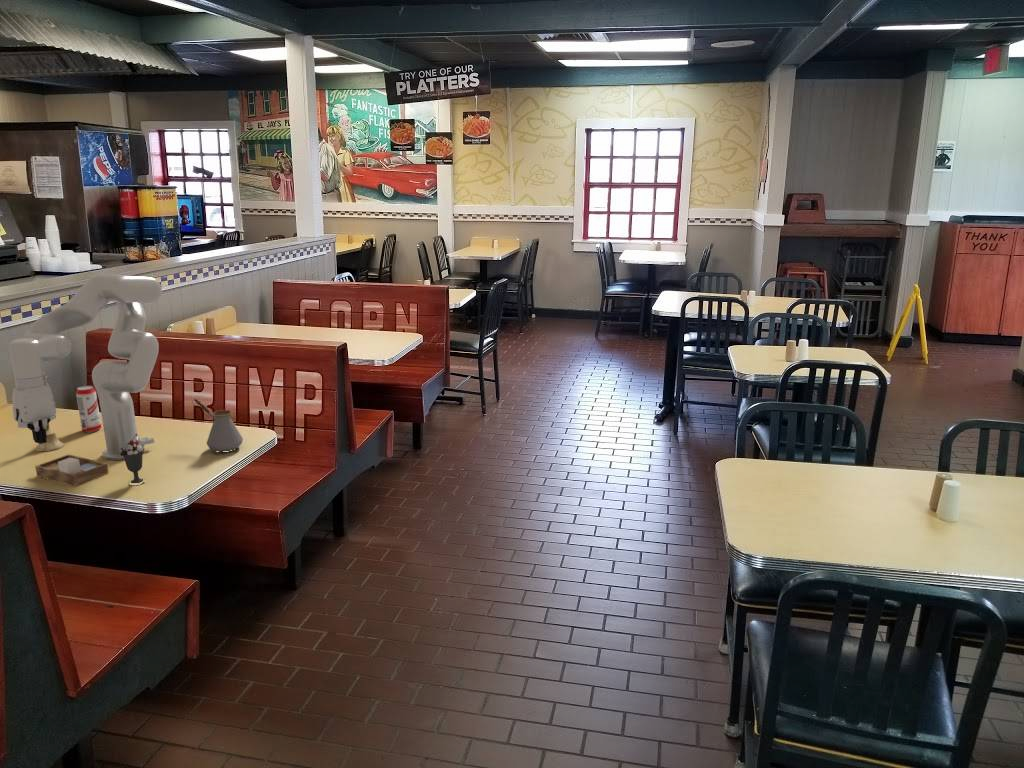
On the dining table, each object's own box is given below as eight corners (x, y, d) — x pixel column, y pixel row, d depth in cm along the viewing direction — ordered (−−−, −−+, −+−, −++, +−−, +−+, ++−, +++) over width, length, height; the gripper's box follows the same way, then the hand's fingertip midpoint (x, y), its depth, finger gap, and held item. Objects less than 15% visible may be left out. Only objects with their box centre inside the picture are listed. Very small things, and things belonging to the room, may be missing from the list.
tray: (37, 475, 237) (35, 466, 236) (70, 463, 246) (68, 454, 245) (75, 486, 229) (74, 476, 228) (108, 473, 239) (106, 463, 238)
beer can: (78, 432, 274) (70, 389, 270) (91, 426, 280) (85, 384, 276) (92, 433, 273) (85, 390, 268) (105, 428, 278) (99, 386, 274)
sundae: (152, 477, 235) (146, 431, 231) (143, 486, 229) (136, 439, 224) (131, 478, 235) (124, 432, 231) (121, 487, 228) (113, 440, 224)
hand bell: (47, 442, 264) (39, 398, 260) (69, 443, 263) (61, 399, 259) (29, 451, 256) (21, 405, 252) (52, 452, 255) (43, 407, 251)
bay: (75, 474, 237) (74, 468, 237) (89, 469, 241) (88, 463, 241) (86, 477, 235) (85, 471, 235) (99, 472, 239) (98, 465, 239)
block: (60, 474, 232) (57, 461, 231) (72, 469, 236) (70, 457, 235) (68, 476, 231) (66, 464, 229) (81, 471, 234) (78, 459, 233)
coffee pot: (250, 447, 260) (246, 405, 256) (220, 457, 251) (216, 414, 247) (213, 434, 272) (209, 394, 268) (183, 444, 263) (178, 402, 259)
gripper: (47, 374, 227) (56, 433, 232) (-4, 386, 214) (7, 448, 219) (64, 377, 224) (73, 436, 229) (12, 389, 211) (23, 452, 216)
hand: (40, 442), depth 224 cm, fingers closed
